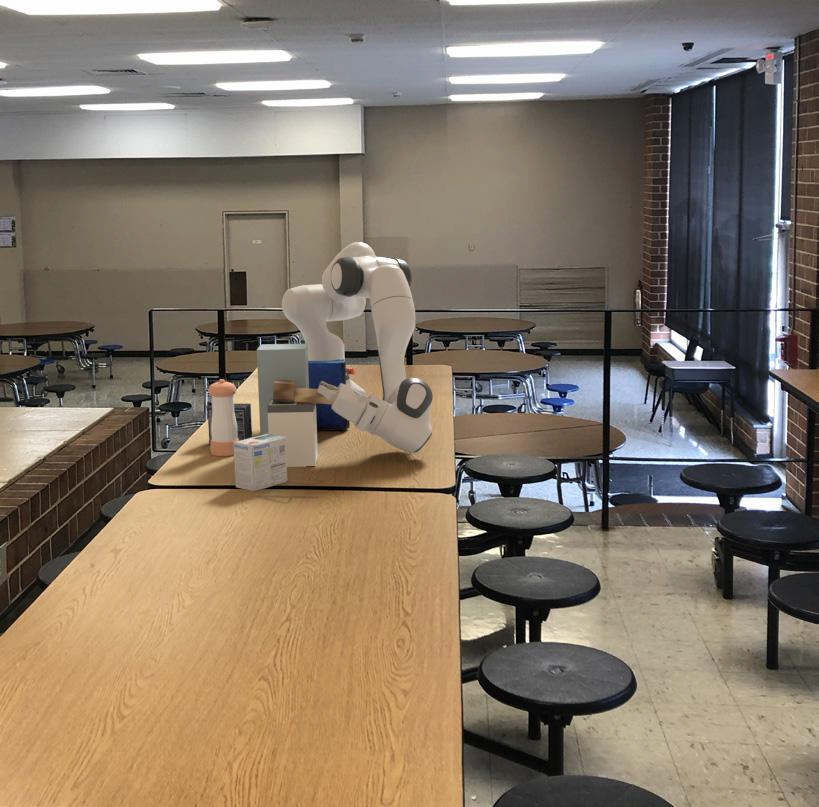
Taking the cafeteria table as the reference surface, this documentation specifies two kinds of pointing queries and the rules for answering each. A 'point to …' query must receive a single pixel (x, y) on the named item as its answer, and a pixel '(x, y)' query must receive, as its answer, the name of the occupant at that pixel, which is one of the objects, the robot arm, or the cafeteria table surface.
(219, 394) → the salt shaker
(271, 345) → the stand
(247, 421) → the small box
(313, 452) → the card box
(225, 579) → the cafeteria table surface
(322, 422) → the blue fabric case
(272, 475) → the light bulb box
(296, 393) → the stamp
